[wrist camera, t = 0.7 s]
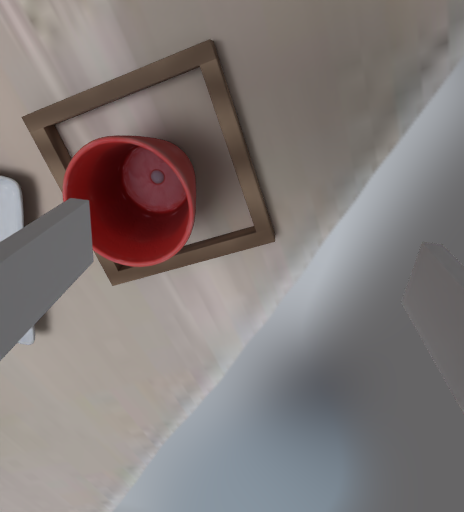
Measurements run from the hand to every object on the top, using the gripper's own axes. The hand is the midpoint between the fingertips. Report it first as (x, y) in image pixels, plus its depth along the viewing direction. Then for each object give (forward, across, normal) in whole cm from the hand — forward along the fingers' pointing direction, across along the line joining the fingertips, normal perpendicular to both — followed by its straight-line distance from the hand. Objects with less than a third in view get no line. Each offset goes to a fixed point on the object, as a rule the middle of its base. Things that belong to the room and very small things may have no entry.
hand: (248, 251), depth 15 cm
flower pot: (+24, -10, -4) cm, 27 cm away
